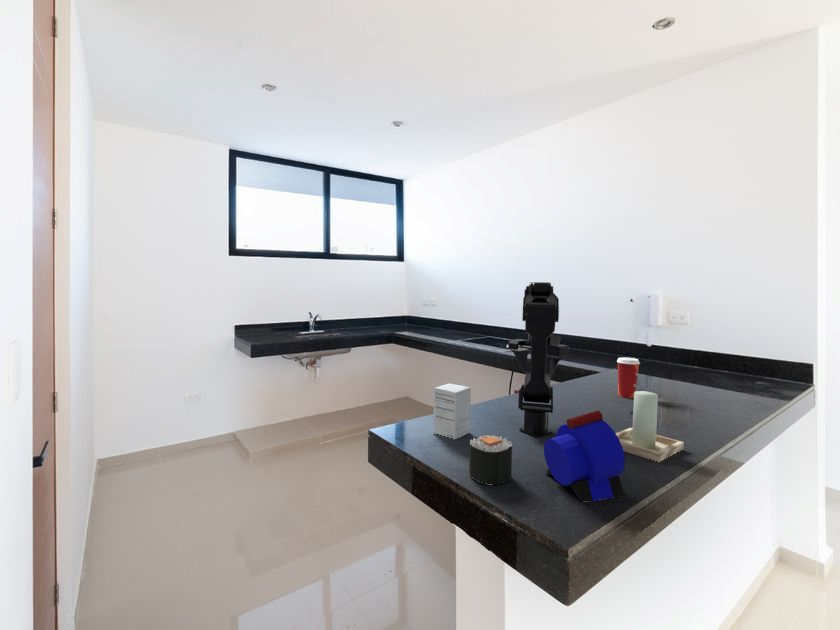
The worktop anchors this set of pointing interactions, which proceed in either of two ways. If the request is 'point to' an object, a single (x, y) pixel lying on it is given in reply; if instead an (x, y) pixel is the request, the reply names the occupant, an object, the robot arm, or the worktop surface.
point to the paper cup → (627, 376)
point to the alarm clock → (587, 457)
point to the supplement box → (452, 410)
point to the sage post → (644, 419)
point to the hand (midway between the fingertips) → (536, 375)
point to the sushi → (490, 459)
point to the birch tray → (660, 452)
